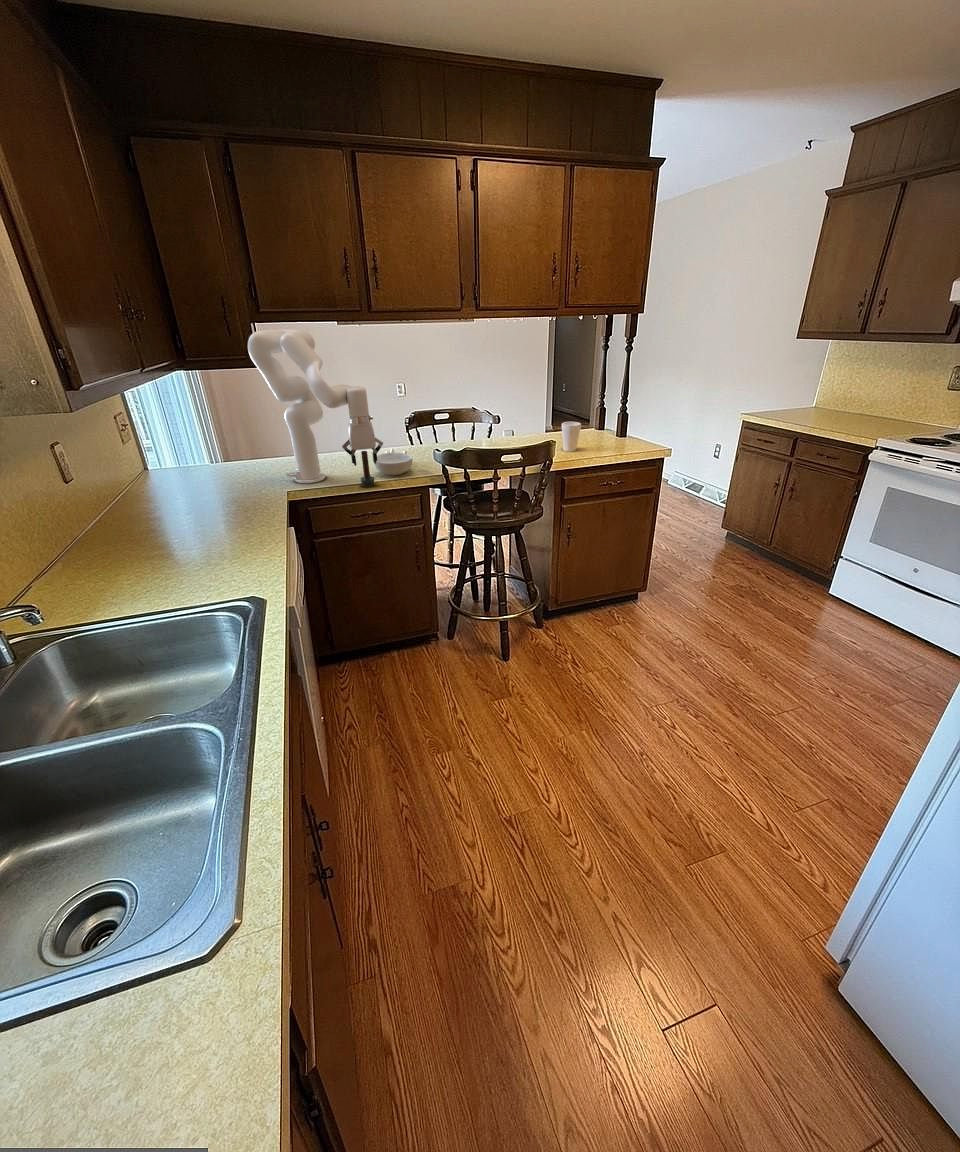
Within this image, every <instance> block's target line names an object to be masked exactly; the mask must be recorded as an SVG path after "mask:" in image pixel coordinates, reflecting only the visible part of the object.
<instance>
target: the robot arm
mask: <svg viewBox="0 0 960 1152" xmlns="http://www.w3.org/2000/svg"><path fill="white" fill-rule="evenodd" d="M315 346H316V342H315V339H314V337H313V335H312V334H311V333H310V332H308V331H306V330H303V329H287V328H274V329H273V328H271V329H263V330H262V329H261V330H258V331H255V332H253V333H251V334H250V336H249V337H248V340H247V351H248V354H249V357H250V359H251V361H252V362H253V364H254V365H255V367H256V368H257V370H259V372H260V374H261V375H262V377H263V378H264V380H265V382H266V383H267V386H268V387H269V388H270V390H271V392H272V393H273V395H274V397H275V398H276V400H277V401H278V402H280V403H282V404H290V403H293V402H296V403H294V404H291V405H289V406H288V407H287V408H286V409H285V412H284V420H285V423H286V426H287V428H288V431H289V435H290V440H291V445H292V450H293V456H294V460H295V461H294V462H295V466H296V469H295V470H293V471H286V477H288V478H294V481H295V482H297V483H298V484H315V483H319V482H321V481H324V480H325V479H326V475H325V474H324V473H323V472H321V465H320V459H319V453H318V447H317V442H316V437H315V433H314V432H313V430H312V428H311V426H312V425H316V424H317V423H319V422H320V421H322V419H323V417H324V410H323V407H322V405H321V404H323V406H325V407H327V408H329V409H336V408H341V407H343V406H347V407H348V415H349V423H348V426H347V428H348V429H347V430H348V431H347V432H348V433H347V434H348V435H347V436H348V440H346V442H344V443H343V444H342V446H341V448H342V449H343V450H344V451H345V452H346V453H347V454H348V455H350V456H351V457H350V458H351V463H352V464H353V465H354V467H356V466H357V457H356V451H359V450H360V451H361V450H372V461H373V462H372V463H373V464H374V463H375V464H376V461H377V456H378V452H379V451H380V450H381V449H382V447H383V445H384V441H382V440H380V439H378V438H377V437H376V436H375V431H374V427H373V423H372V421H371V420H374V416H373V415H370V412H369V403H368V393H367V389H366V388H365V387H364V386H361V385H354V386H353V385H350V384H349V385H348V384H339V385H333V386H330V385H329V384H328V382H326V380H325V379H324V378H323V376H322V375H321V371H320V370H321V369H322V367H323V364H324V363H323V360H322V358H321V357H320V356H319V355H318V354H317V352H316V351H315ZM277 353H285V355H287V356H288V357H289V358H290V360H291V361H293V363H295V364H296V366H297V367H298V368H299V369H300V370H301V372H303V373H304V375H305V377H306V379H304V378H303V377H302V376H299V375H291V376H289V375H288V373H287V372H286V371H285V369H284V367H283V366H282V363H280V361H279V360H277V359H276V358H274V356H273V355H272V354H277ZM348 447H349V448H350V449H349V448H348ZM375 464H374V465H375Z"/></svg>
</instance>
